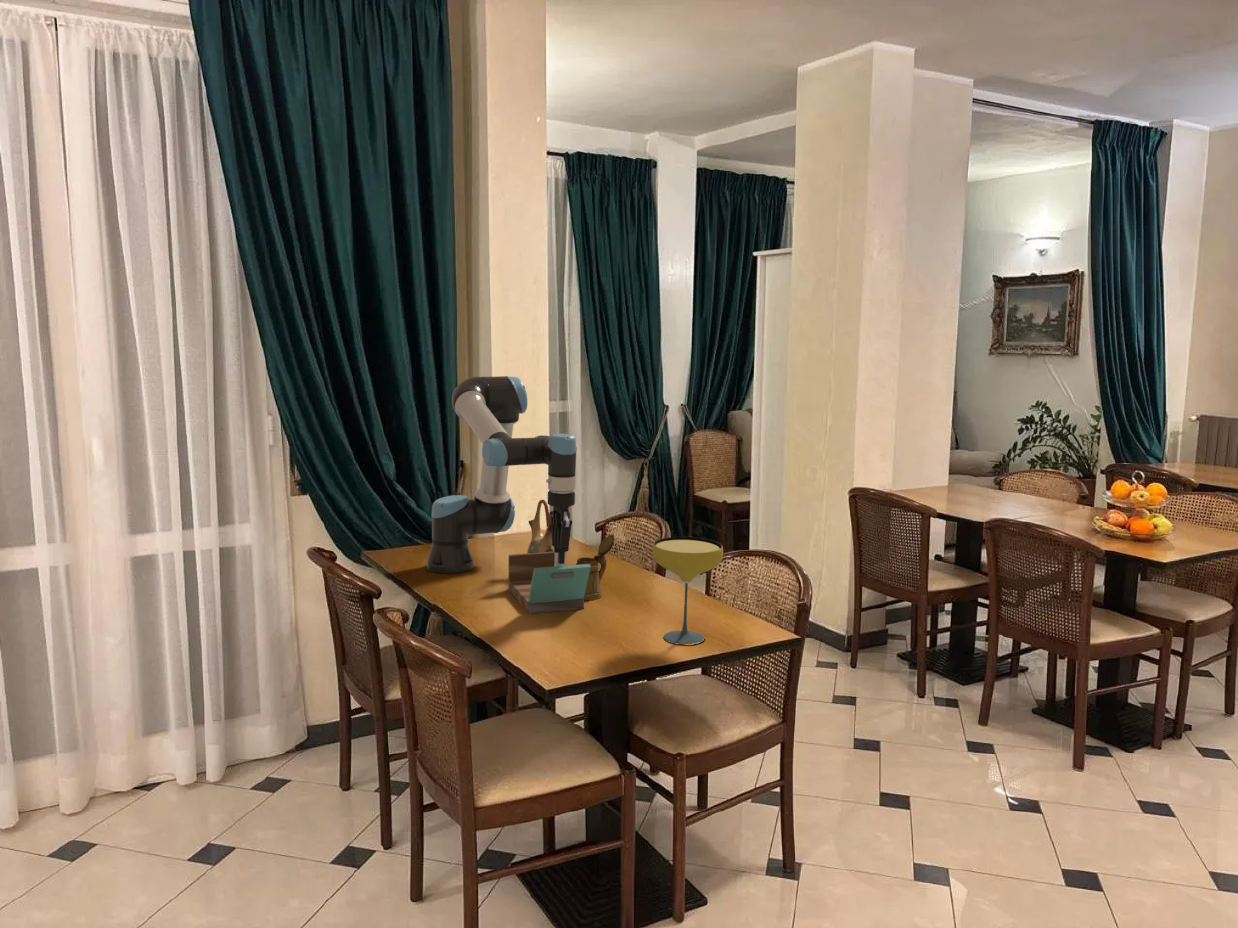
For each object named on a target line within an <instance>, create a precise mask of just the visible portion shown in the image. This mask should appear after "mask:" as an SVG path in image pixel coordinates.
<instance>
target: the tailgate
mask: <svg viewBox="0 0 1238 928" xmlns="http://www.w3.org/2000/svg"><path fill="white" fill-rule="evenodd" d="M590 568H591V566H590V564H582V565H576V564H573V565H572V564H571V565H565V566H555V567H542V568H534V571H533V576H532V582H531V587H530V593H529V598H528V601H529V603H535V602H546V601H557V600H569V599H580V598H584V594H585V590H586V586H587V581H588V577H589V573H590Z"/></svg>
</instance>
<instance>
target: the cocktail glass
mask: <svg viewBox="0 0 1238 928" xmlns="http://www.w3.org/2000/svg"><path fill="white" fill-rule="evenodd" d="M651 552H652V558H653V560H654V561H655V562H656V563H657V564H658V565H660V567H662V568H664V569H666V570H667V571H670V572H671V573H673V574H675V575H677V576H678V578H679V579H680V580H681V581H682V583H683V584H684V585H685V586H684V607H683V608H684V610H683V624H682V628H681V629H682V630H681V631H680V630H672V631H669V632H666V633H665V634H664V635H663V639H664V640H665V639H666V640H667V641H670V642H672V643H678V644H692V643H697V642H701V641H703V640H702V639H703V638H704V637H705V636H704V634H702V633H700V632H697V631H691V630H688V622H687V621H688V620H687V619H688V618H687V617H688V616H687V615H688V587H689V585H688V584H690V583H691V582H692V581H693V580H694V579H695V578H696V577H697V576H698V575H702V574H703V573H706V572H708V571H711V570H713V569H715V568H716V567H717V566H718V565H720V564H721V562H722V561H723V558H724V547H723V544H722V543H720V542H718V541H715V540H712V539H708V538H703V537H694V536H671V537H670V536H669V537H663V538H660V539H657V540H655V541H654V542H653V544H652V551H651ZM699 633H700V634H699ZM701 634H702V635H701ZM703 636H704V637H703ZM666 640H665V641H666ZM667 641H666V642H667ZM672 643H671V644H672Z"/></svg>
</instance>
